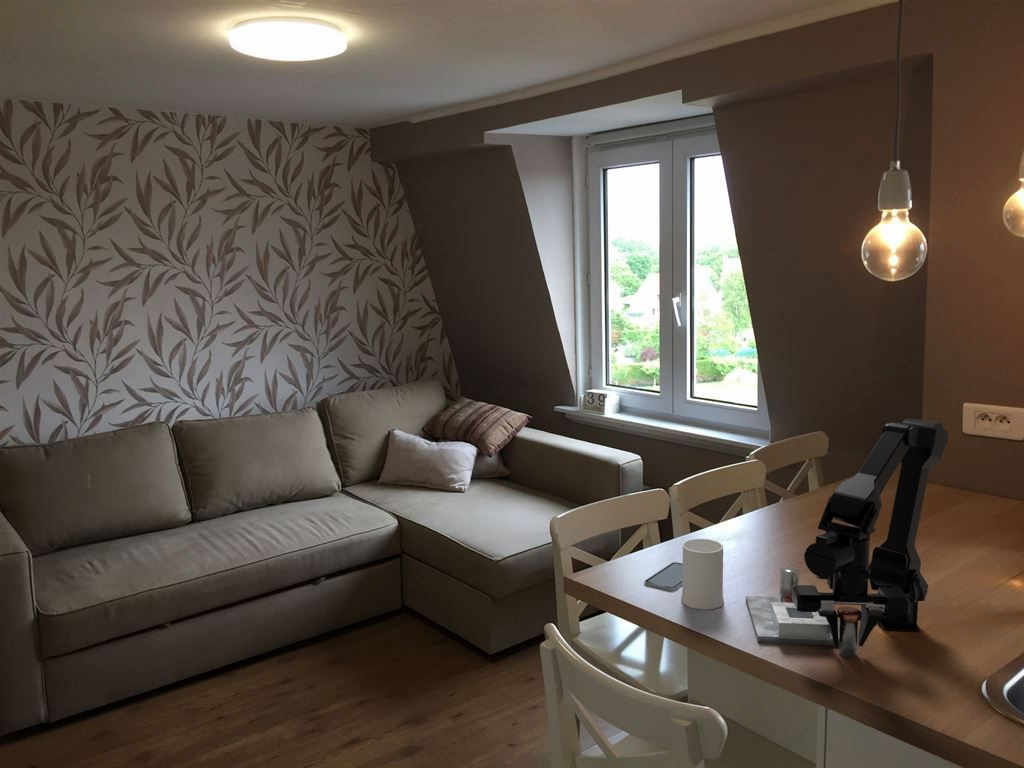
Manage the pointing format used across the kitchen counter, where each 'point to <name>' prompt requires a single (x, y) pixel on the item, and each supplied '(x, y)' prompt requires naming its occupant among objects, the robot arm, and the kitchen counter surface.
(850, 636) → the copper-capped peg
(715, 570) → the mug
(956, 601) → the kitchen counter surface
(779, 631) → the socket base
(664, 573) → the smartphone
